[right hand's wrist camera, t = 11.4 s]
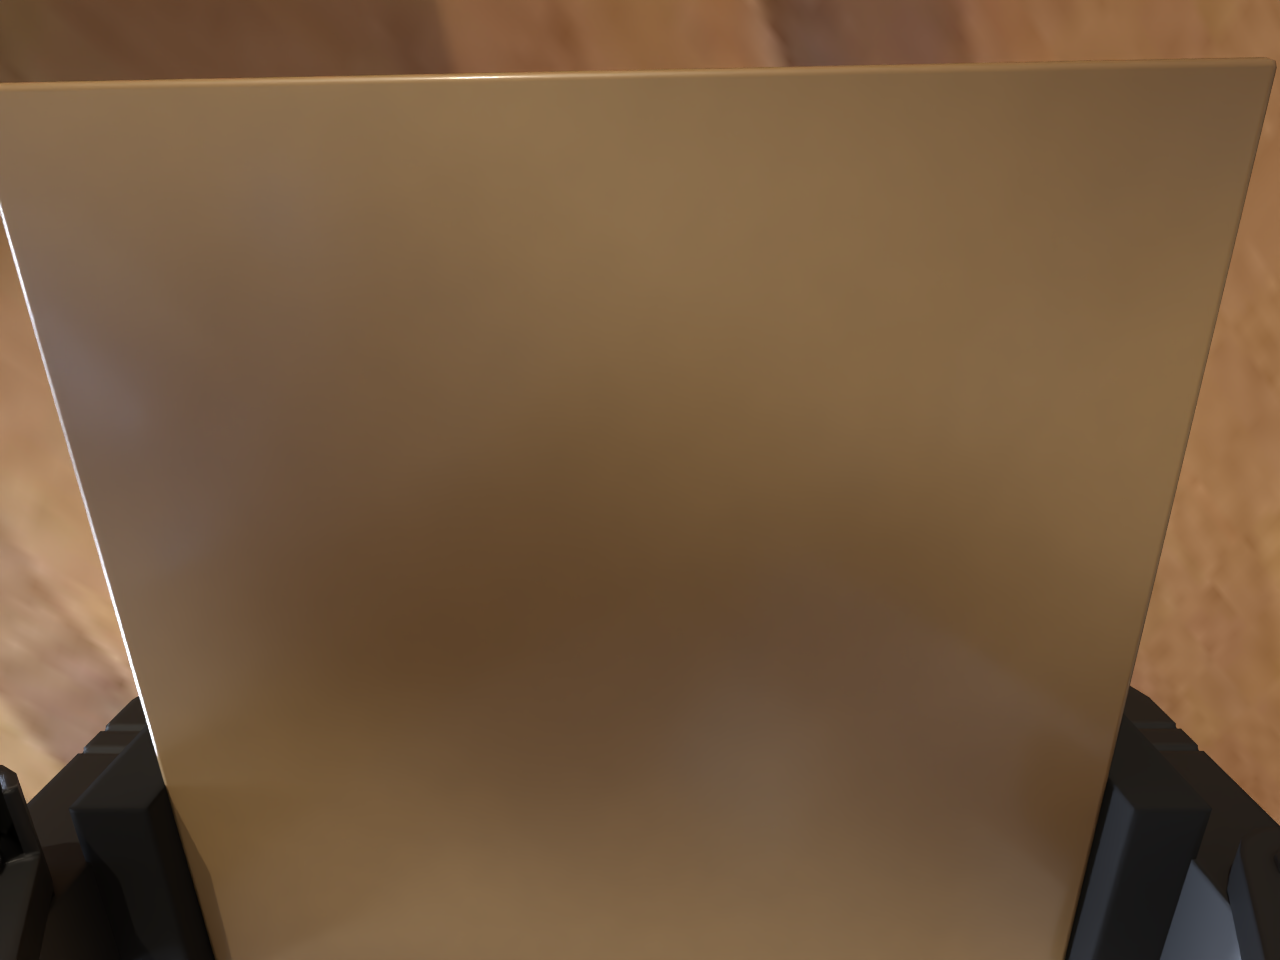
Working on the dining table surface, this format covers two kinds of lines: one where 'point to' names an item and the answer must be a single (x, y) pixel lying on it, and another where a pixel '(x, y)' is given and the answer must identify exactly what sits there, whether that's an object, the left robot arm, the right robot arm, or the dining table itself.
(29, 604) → the dining table surface
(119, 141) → the long beam
